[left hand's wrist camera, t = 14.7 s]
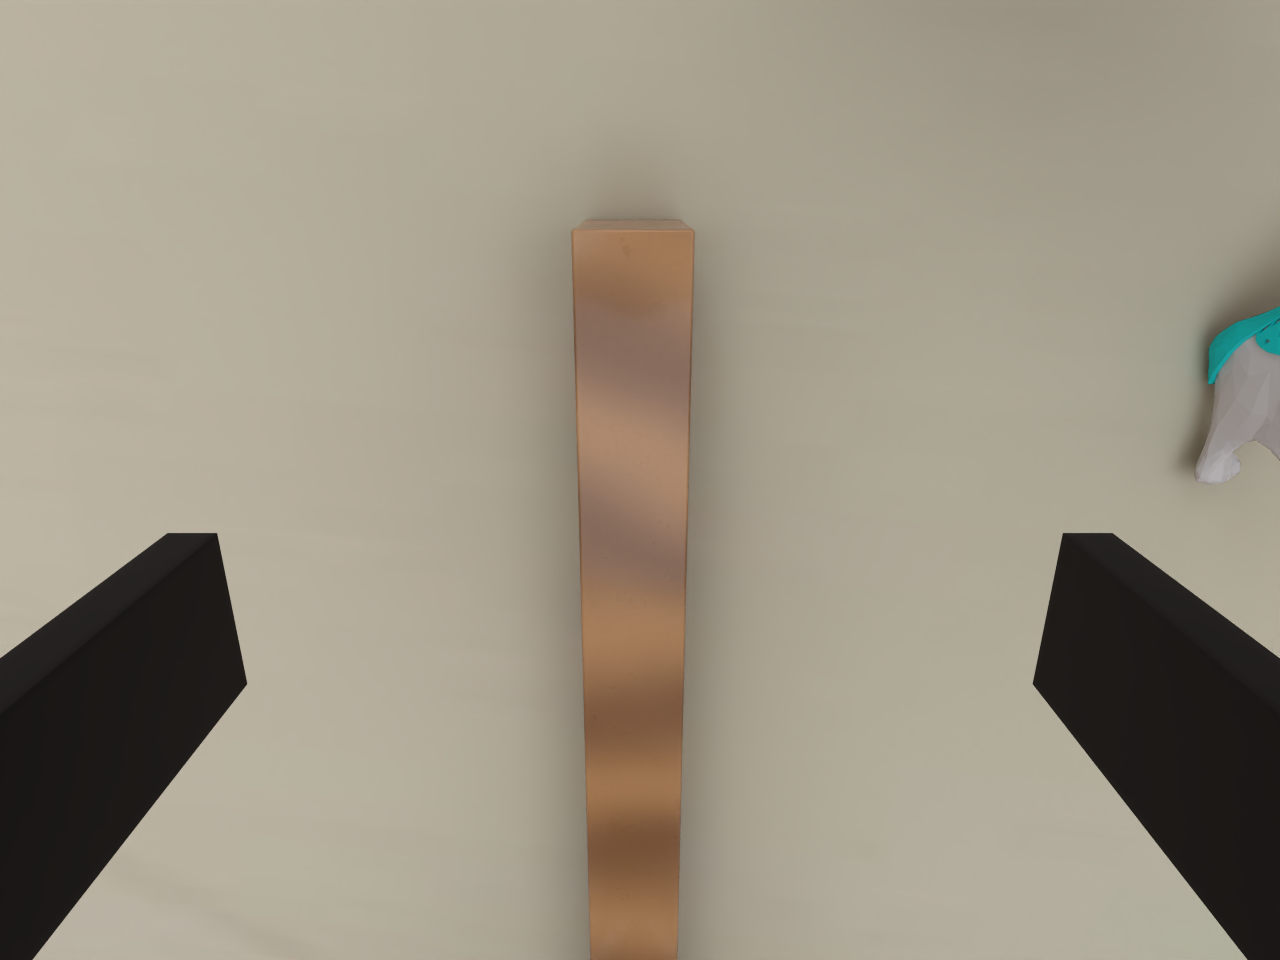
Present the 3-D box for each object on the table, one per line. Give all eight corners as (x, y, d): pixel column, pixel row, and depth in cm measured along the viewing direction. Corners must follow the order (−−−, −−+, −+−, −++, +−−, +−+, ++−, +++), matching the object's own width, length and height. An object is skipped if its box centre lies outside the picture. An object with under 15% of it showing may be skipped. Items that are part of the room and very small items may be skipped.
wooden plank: (585, 219, 36) (571, 229, 28) (682, 219, 36) (694, 229, 28) (606, 1231, 62) (601, 1385, 54) (663, 1231, 62) (666, 1384, 54)
